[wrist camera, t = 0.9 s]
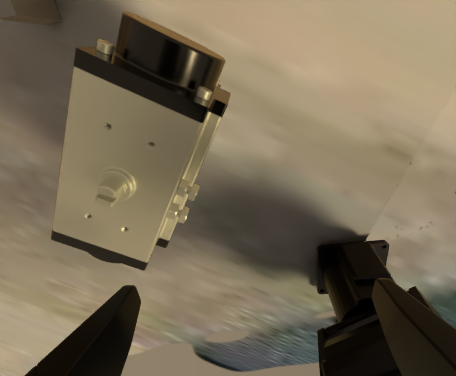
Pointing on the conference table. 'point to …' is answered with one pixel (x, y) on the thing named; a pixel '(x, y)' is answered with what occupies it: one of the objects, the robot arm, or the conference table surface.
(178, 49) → the pneumatic valve
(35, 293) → the conference table surface
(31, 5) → the housing bay
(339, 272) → the robot arm
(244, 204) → the conference table surface
